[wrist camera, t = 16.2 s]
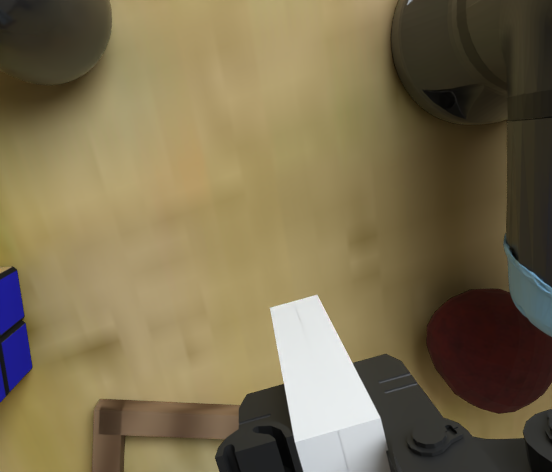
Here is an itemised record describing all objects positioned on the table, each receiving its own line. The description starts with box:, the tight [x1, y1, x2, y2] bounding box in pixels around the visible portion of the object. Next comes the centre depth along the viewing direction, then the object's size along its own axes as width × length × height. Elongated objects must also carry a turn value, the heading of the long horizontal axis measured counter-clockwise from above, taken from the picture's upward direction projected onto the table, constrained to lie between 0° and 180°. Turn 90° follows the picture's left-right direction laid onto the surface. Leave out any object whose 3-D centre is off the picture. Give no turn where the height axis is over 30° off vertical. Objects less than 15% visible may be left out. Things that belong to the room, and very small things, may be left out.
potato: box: [427, 289, 552, 414], centre depth 42 cm, size 12×11×8 cm
